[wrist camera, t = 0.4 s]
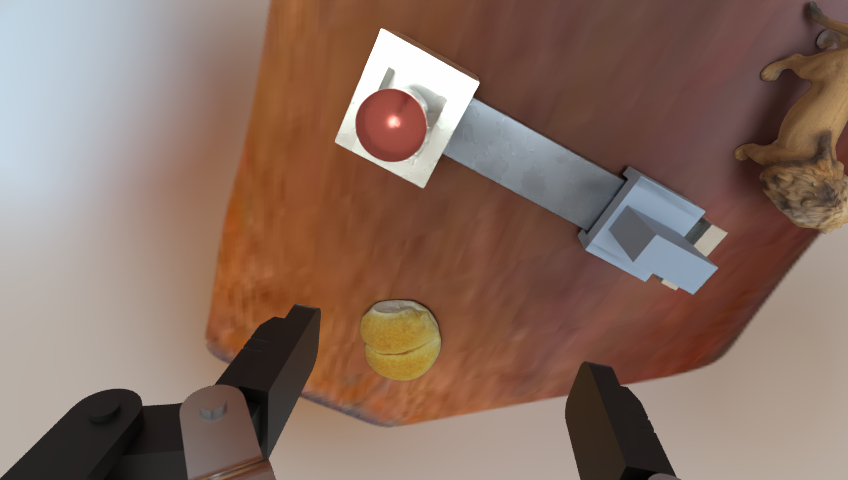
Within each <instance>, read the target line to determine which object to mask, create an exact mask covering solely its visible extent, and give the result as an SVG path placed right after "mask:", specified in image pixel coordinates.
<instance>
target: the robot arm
mask: <svg viewBox="0 0 848 480" xmlns="http://www.w3.org/2000/svg"><path fill="white" fill-rule="evenodd" d="M320 318H321V310H320V308H315V307H310V306H305V305H300V304H295V305H294V306H293V307H292V309H291V310H290V312H289V313H288V314H287V316H286V317H285V319H284V318H279V317H273V318H271V319H269V320H268V321H266V322H265V323H263V324H261V325H260V326H259V327H258V328H257V330H256V331H255V332H254V334H253V335H252V336H251V339H249V340H248V341H247V343H246V344H245V345H244V347H243V349H241V351H240V352H239V353H238V355H237V356H236V357H235V358H234V360H233V361H232V362H231V364H230V365H229V366H228V368H227V369H226V370H225V372H224V373H223V374H222V376H221V377H220V378H219V380H218V381H217V382H216V384H215V385H212V386H208V387H204V388H202V389H199V390H197V391H195V392H194V393H192V394H191V395H190V396H188V397H187V398H186V400H185V401H184V402H183V403H178V404H170V405H169V404H168V405H152V406H142V400H141V398H140V396H139V395H138V394H137V393H135V392H133V391H130V390H127V389H110V390H105V391H101V392H98V393H95V394H92V395H90V396H88V397H86V398H84V399H83V400H81V401H80V402H78V403H77V404H76V405H75V406H74V407H72V408H71V409H70V410H69V411H68V412H67V413H66V414H65V415H64V416H63V417H62V418H61V419H60V420H59V421H58V422H57V423H56V424H55V425H54V426H53V427H52V428H51V429H50V430H49V431H48V432H47V433H46V434H45V435H44V436H43V437H42V438H41V439H40V440H39V441H38V442H37V443H36V444H35V445H34V446H33V447H32V448H31V449H30V450H29V451H28V452H27V453H26V454H25V455H24V456H23V457H22V458H21V459H20V460H19V461H18V462H17V463H16V464H15V465H14V466H13V467H12V468H10V469H9V471H8V472H7V473H5V474H4V475H3V476H2V477H1V478H0V480H276V478H275V475H274V472H273V469H272V466H271V463H270V461H269V460H268V459H269V457H270V454H271V452H272V450H273V448H274V446H275V444H276V442H277V440H278V438H279V436H280V434H281V432H282V430H283V428H284V426H285V424H286V422H287V420H288V418H289V416H290V414H291V412H292V410H293V408H294V406H295V404H296V402H297V400H298V398H299V396H300V394H301V392H302V390H303V388H304V386H305V384H306V382H307V380H308V378H309V376H310V374H311V372H312V370H313V367H314V364H315V361H316V358H317V353H318V344H319V331H320ZM565 419H566V424H567V428H568V432H569V436H570V440H571V444H572V448H573V452H574V456H575V460H576V464H577V468H578V472H579V476H580V479H581V480H681V479H679V478H677V477H676V475H675V473H674V471H673V469H672V466H671V464H670V462H669V460H668V458H667V456H666V454H665V452H664V450H663V448H662V445H661V443H660V441H659V439H658V437H657V435H656V433H654V429H653V427H652V425H651V422H650V421H649V420H648V416H647V414H646V412H645V410H644V408H643V406H642V404H641V402H640V401H639V400H638V398H637V397H636V396H635V395H634V394H633V393H632V392H631V391H630V390H629V389H628V387H623V386H620V384H619V382H618V379H617V377H616V375H615V373H614V370H613V369H612V367H610V366H606V365H601V364H596V363H591V362H586V361H585V362H583V363H582V364H581V366H580V369H579V371H578V374H577V376H576V379H575V381H574V384H573V386H572V389H571V391H570V394H569V396H568V399H567V402H566V409H565Z"/></svg>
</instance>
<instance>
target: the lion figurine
mask: <svg viewBox="0 0 848 480" xmlns="http://www.w3.org/2000/svg"><path fill="white" fill-rule="evenodd" d="M807 12H808V15H809V16H810V18H812V19H813V20H814V21H815V22H816V23H818V24H820V25H823V26H825V27H827V28H829V29H827V30H825V31H823V32H822V33H821V34H820V36H819V37H818V40H817V45H818V46H819V48H821V49H826V48H827V47H830V46H832V45H833V44H834V43H835V42H836V43H837V46H838V48H837V49H832V50H828V51H825V52H822V53H818V54H815V55H812V56H807V57H806V56H803V55H801V54H798V53H797V54H793V55H791V56H789V57H787V58H785V59H783V60H781V61H777V62H774V63H772V64H770V65H768V66H767V67H766V68H764V69H763V71H762V72H761V79H762V80H764V81H774V80H776V79H777V78H778V76H779V75H780V73H781V71H782V70H784V69H787V68H789V69H792V70H793V71H794V72H795V73H796V74H797V75H798V76H799V77H800V78H802V79H806V80H808V81H810V82H811V87H810V89H809V90H808V91H807V92H806V93H805V94H804V95H803V96H802V97H801V98H800V99H798V101H797V102H796V103H795V104H794V105H793V106H792V107H791V108H790V110H789V111H788V113H787V114H786V116H785V118H784V120H783V122H782V124H781V127H780V131H779V135H778V139H777V140H775V141H774V142H773V143H772V144H770V145H767V146H761V145H756V144H755V143H751V144H745V145H742V146H740V147H738V148H737V149H736V150H735V151H734V156H735V158H737V159H738V160H747V159H748V158H749V157H750V158H751V159H753V160H754V161H755V162H757V163H759V164H761V165H763V167H762V169H761V172H762V173H761V174H760V177H759V179H760V181H761V183H762V184H764V185H763V191H764V193H765V194H766V195H767V196H768V197H769V198H770V200H771V201H772V202H773V203H775V205H776V207H777V209H778V210H780V211H782V212H783V213H784V214H785V215H786V216H788V217H789V219H790V221H791V222H793V223H794V224H796V225H797V226H798V227H808V228H815V229H817V230H818V231H820V232H822V233H824V234H830V233H831V232H832V231H833V229H835V228H836V229H837V228H840V227H841V226H842V225H843V224H844V223H847V222H848V177H847V176H846V175H845V174H844V171H843V169H844V165H843V164H842V163H841V162H839V161H837V160H836V152H835V146H836V143H837V140H838V138H839V136H840V134H841V132H842V130H843V128H844V126H845V124H846V123H847V120H848V24H846V23H842V22H838V21H835V20H832V19H830V18H828V17H827V16H825V15H823V13H822V12H821V10H820V9H819V8H818V7H817V4H816V3H815V2H814V1H813V2H810V3H809V7H808V11H807Z"/></svg>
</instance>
